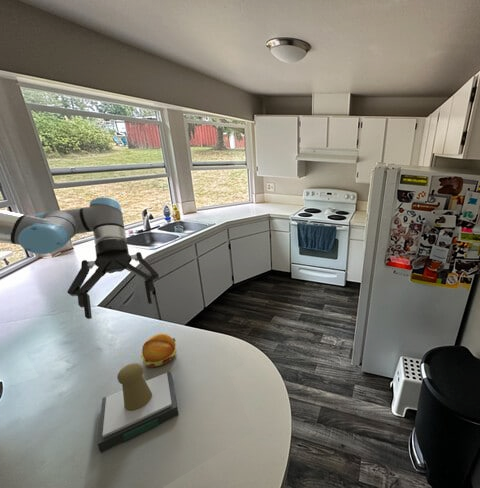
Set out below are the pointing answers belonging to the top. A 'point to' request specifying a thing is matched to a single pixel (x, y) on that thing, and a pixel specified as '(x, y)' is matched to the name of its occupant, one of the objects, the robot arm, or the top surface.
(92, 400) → the top surface
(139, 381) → the cork
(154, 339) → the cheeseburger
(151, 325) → the top surface
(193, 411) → the top surface
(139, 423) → the kitchen scale
